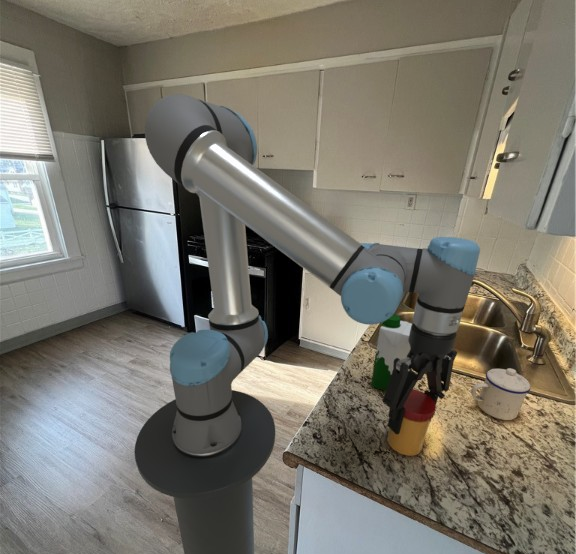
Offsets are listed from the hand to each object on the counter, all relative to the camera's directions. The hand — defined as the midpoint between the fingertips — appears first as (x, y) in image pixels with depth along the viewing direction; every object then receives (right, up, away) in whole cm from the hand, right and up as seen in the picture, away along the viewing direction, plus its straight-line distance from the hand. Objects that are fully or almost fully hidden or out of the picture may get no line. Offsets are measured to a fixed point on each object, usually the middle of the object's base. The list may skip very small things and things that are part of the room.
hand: (409, 423), depth 66 cm
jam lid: (0, +5, -2) cm, 6 cm away
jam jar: (0, -5, +2) cm, 5 cm away
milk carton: (+2, +4, +21) cm, 21 cm away
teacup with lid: (+26, -1, +13) cm, 29 cm away
